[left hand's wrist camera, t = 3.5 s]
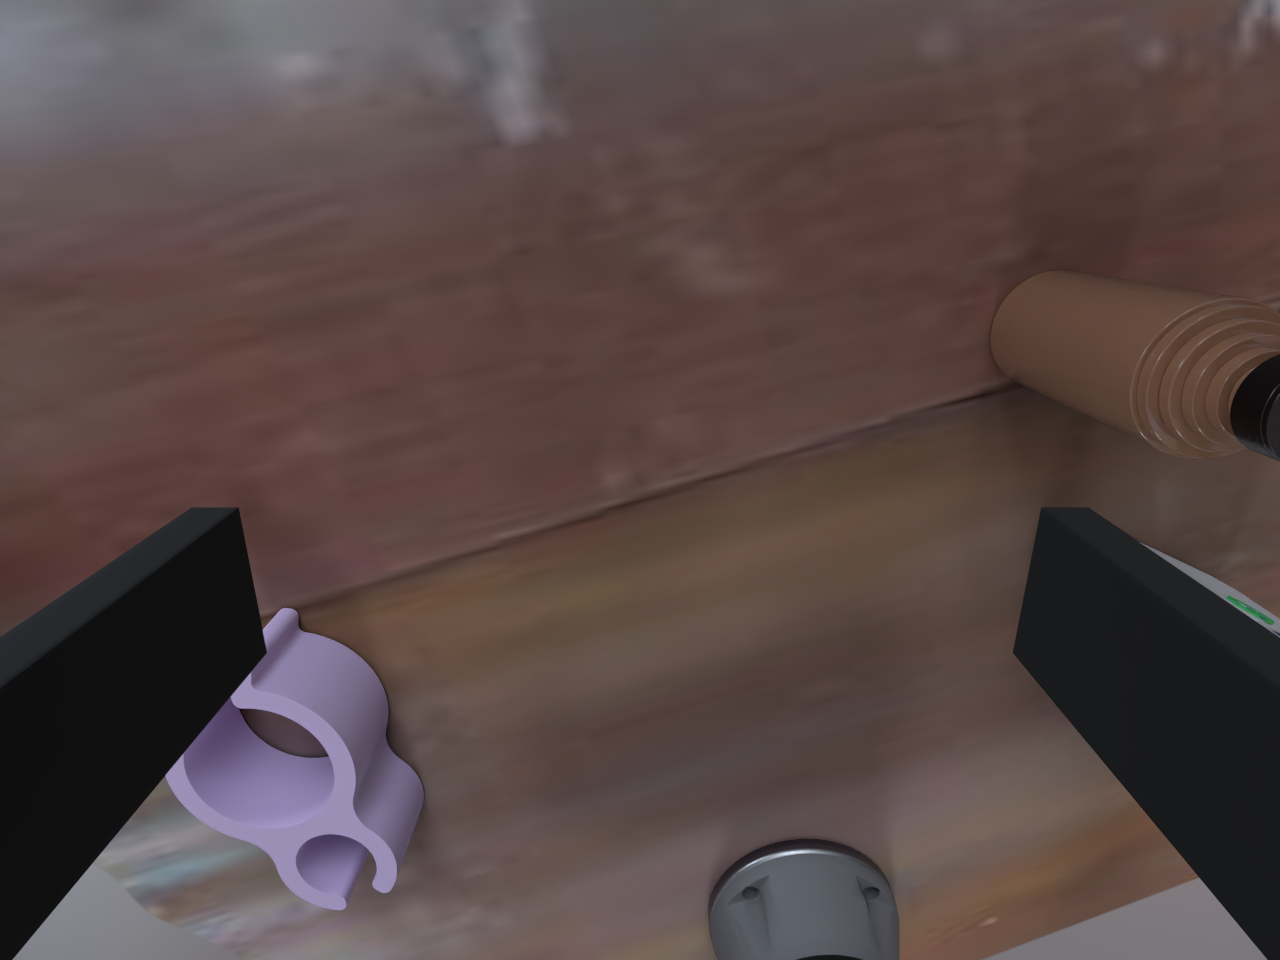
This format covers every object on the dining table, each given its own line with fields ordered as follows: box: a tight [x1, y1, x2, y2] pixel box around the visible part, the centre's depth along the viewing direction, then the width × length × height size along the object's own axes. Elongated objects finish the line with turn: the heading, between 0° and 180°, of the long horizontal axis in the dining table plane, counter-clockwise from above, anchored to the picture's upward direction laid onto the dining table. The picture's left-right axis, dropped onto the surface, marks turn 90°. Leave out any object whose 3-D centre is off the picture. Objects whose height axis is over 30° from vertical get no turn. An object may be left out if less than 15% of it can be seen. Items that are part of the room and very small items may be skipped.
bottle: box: [990, 270, 1280, 458], centre depth 37 cm, size 7×7×20 cm
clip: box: [165, 608, 424, 910], centre depth 53 cm, size 20×12×7 cm, turn 26°
